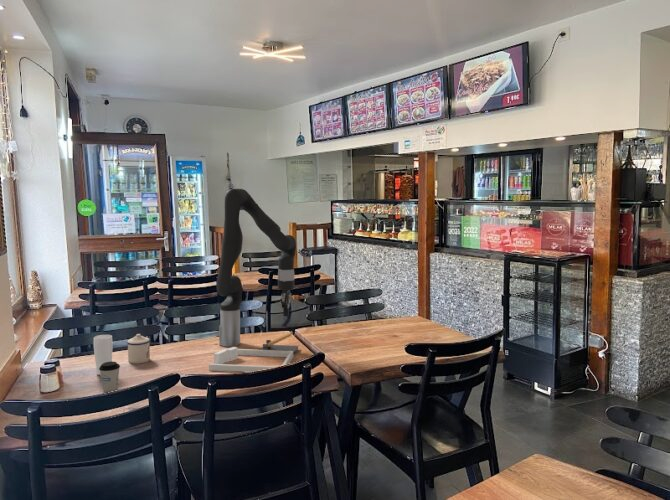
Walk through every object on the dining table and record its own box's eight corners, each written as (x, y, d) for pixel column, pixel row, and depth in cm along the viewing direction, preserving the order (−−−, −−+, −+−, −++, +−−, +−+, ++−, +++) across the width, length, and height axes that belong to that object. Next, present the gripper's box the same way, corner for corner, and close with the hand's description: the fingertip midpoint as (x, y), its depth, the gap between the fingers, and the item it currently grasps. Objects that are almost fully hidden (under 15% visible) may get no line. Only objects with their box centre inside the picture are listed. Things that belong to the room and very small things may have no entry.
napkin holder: (212, 368, 201) (212, 355, 200) (207, 360, 211) (207, 348, 211) (248, 364, 208) (248, 351, 207) (241, 356, 218) (241, 344, 217)
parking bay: (209, 370, 197) (208, 364, 197) (226, 353, 220) (226, 348, 219) (283, 373, 195) (283, 367, 194) (293, 356, 217) (293, 351, 216)
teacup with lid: (152, 362, 207) (151, 335, 206) (129, 365, 202) (128, 338, 201) (147, 354, 217) (147, 329, 216) (125, 357, 213) (125, 331, 212)
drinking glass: (98, 370, 196) (97, 334, 194) (116, 370, 196) (114, 334, 195) (91, 376, 189) (90, 339, 187) (109, 376, 189) (108, 339, 188)
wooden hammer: (265, 349, 222) (263, 346, 222) (267, 345, 227) (266, 343, 227) (291, 336, 220) (289, 333, 220) (293, 333, 225) (291, 330, 225)
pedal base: (260, 353, 221) (260, 344, 221) (264, 348, 229) (264, 339, 229) (295, 354, 219) (295, 345, 219) (298, 349, 227) (298, 340, 227)
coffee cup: (114, 385, 180) (113, 359, 179) (124, 389, 176) (123, 363, 175) (95, 391, 175) (94, 364, 174) (106, 395, 171) (105, 368, 170)
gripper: (281, 276, 228) (281, 312, 229) (274, 280, 214) (274, 319, 216) (296, 276, 227) (296, 313, 228) (291, 281, 214) (291, 319, 215)
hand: (286, 316), depth 222 cm, fingers closed
